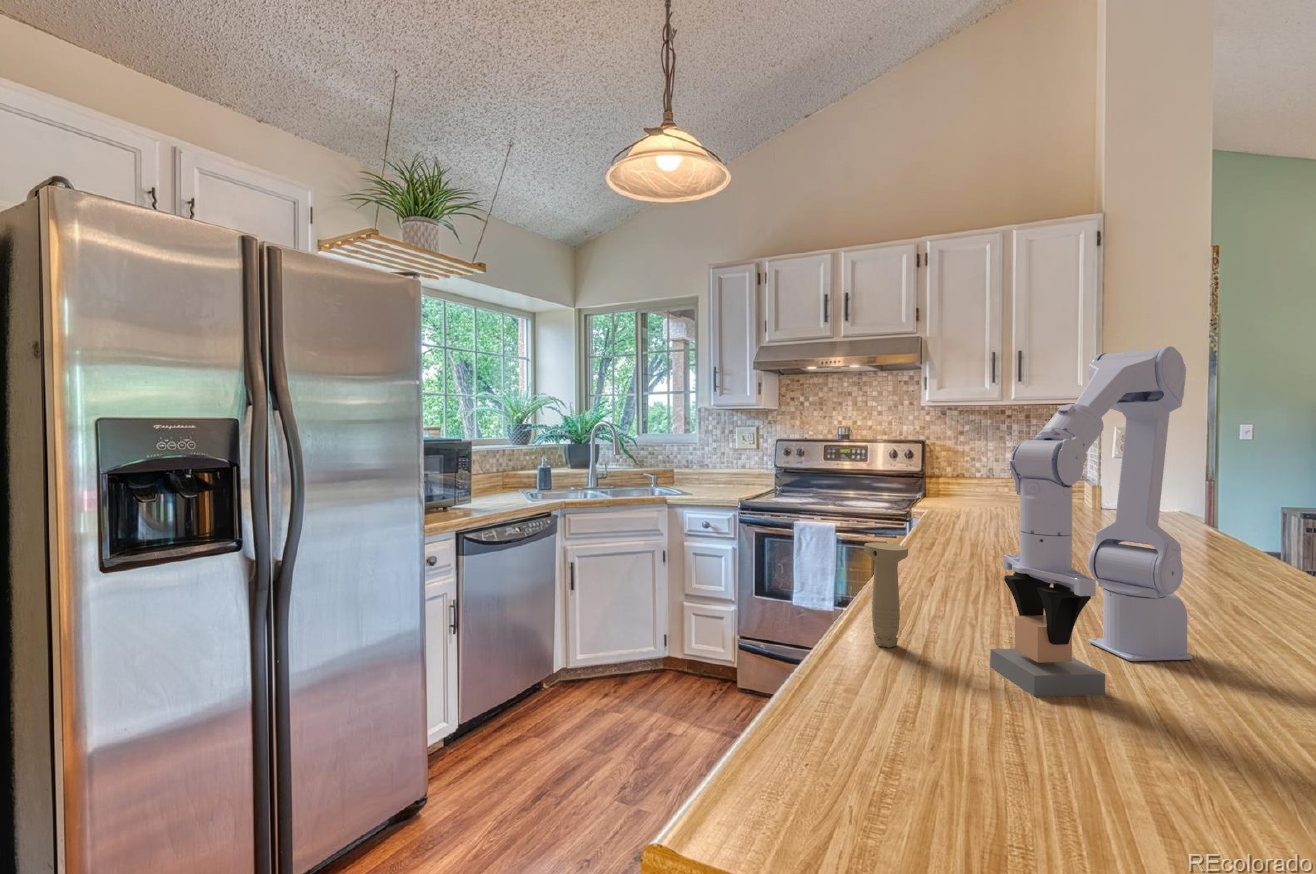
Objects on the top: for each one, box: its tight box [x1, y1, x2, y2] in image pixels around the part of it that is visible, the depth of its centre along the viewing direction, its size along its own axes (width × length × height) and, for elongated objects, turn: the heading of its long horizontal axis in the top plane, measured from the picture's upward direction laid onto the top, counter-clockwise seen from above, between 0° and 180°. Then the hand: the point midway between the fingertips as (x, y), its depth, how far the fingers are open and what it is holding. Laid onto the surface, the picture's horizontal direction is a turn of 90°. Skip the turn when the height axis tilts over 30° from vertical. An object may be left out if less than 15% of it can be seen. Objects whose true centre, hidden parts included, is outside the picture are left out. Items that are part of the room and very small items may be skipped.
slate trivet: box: [989, 648, 1106, 698], centre depth 79 cm, size 9×9×3 cm
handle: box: [863, 541, 909, 649], centre depth 92 cm, size 5×6×15 cm
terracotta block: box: [1014, 614, 1073, 663], centre depth 79 cm, size 4×4×4 cm
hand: (1044, 636), depth 79 cm, fingers closed on terracotta block, 4 cm apart
